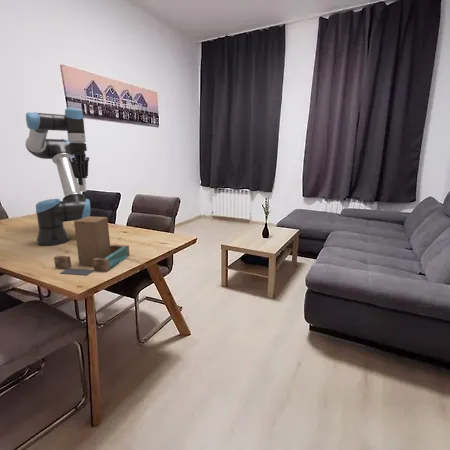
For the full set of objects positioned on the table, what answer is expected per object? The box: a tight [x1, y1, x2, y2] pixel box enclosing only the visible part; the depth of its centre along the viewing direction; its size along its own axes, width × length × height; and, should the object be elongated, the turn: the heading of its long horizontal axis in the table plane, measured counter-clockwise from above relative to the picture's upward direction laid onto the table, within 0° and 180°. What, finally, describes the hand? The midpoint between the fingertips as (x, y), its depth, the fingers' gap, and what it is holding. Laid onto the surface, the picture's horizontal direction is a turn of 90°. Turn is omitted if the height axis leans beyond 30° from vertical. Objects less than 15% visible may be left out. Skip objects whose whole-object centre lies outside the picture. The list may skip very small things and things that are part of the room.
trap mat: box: [59, 267, 94, 276], centre depth 120 cm, size 12×5×1 cm, turn 82°
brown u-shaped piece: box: [53, 244, 130, 272], centre depth 131 cm, size 24×20×5 cm
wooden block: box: [73, 215, 111, 266], centre depth 129 cm, size 10×10×20 cm
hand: (83, 191), depth 145 cm, fingers closed
